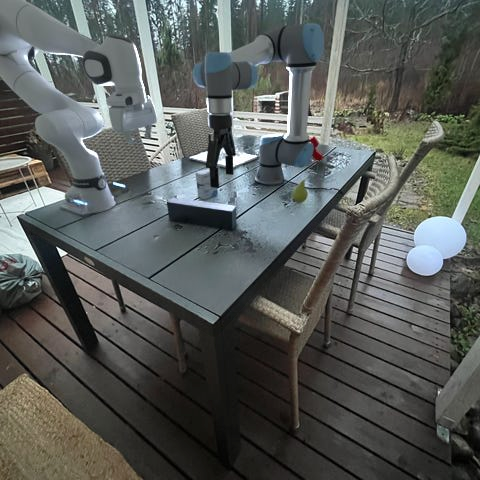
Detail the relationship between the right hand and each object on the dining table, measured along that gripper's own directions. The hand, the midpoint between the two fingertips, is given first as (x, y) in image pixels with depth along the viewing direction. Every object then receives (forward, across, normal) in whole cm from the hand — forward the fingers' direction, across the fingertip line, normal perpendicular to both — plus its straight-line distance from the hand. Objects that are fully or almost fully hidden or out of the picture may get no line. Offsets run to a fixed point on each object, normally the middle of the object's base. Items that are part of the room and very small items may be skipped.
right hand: (222, 180), depth 94 cm
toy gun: (+18, -94, +18) cm, 98 cm away
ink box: (+18, -24, -18) cm, 35 cm away
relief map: (+18, -83, -34) cm, 91 cm away
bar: (+18, +1, -9) cm, 20 cm away
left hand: (-11, +1, -30) cm, 32 cm away
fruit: (+18, -31, +24) cm, 43 cm away
